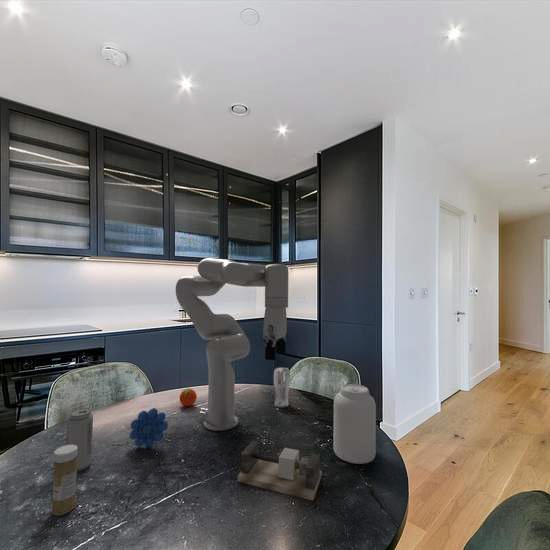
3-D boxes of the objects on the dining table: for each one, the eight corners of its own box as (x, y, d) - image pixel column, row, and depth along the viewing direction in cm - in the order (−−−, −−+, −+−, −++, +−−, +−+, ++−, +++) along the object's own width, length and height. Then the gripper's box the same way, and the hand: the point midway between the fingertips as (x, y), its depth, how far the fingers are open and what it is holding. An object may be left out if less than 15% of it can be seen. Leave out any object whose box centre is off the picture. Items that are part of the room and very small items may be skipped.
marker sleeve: (278, 476, 80) (278, 457, 80) (284, 466, 84) (284, 447, 85) (293, 480, 78) (293, 460, 79) (298, 469, 83) (299, 450, 83)
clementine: (193, 410, 126) (193, 392, 126) (176, 409, 126) (176, 392, 126) (198, 402, 134) (198, 386, 134) (182, 402, 134) (182, 385, 134)
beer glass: (288, 408, 129) (288, 372, 129) (271, 407, 130) (272, 370, 131) (290, 402, 135) (291, 367, 136) (275, 401, 137) (275, 366, 137)
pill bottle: (48, 510, 70) (50, 449, 70) (72, 499, 74) (73, 441, 74) (55, 520, 67) (57, 456, 68) (78, 508, 71) (80, 448, 71)
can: (369, 470, 87) (369, 397, 87) (327, 456, 93) (327, 389, 94) (380, 450, 97) (380, 385, 98) (341, 439, 104) (342, 378, 104)
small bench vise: (237, 481, 81) (238, 456, 81) (253, 461, 90) (253, 438, 91) (313, 500, 74) (313, 472, 74) (321, 476, 83) (321, 451, 84)
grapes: (171, 440, 102) (171, 402, 102) (165, 451, 95) (165, 411, 96) (134, 440, 101) (135, 403, 102) (126, 451, 95) (127, 411, 95)
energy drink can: (68, 463, 88) (70, 409, 89) (93, 458, 91) (94, 406, 91) (63, 475, 83) (65, 418, 83) (90, 470, 85) (91, 414, 86)
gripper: (274, 301, 109) (274, 350, 109) (254, 303, 93) (254, 361, 93) (295, 301, 107) (294, 352, 106) (278, 304, 91) (277, 364, 90)
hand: (275, 356), depth 100 cm, fingers open, 9 cm apart
